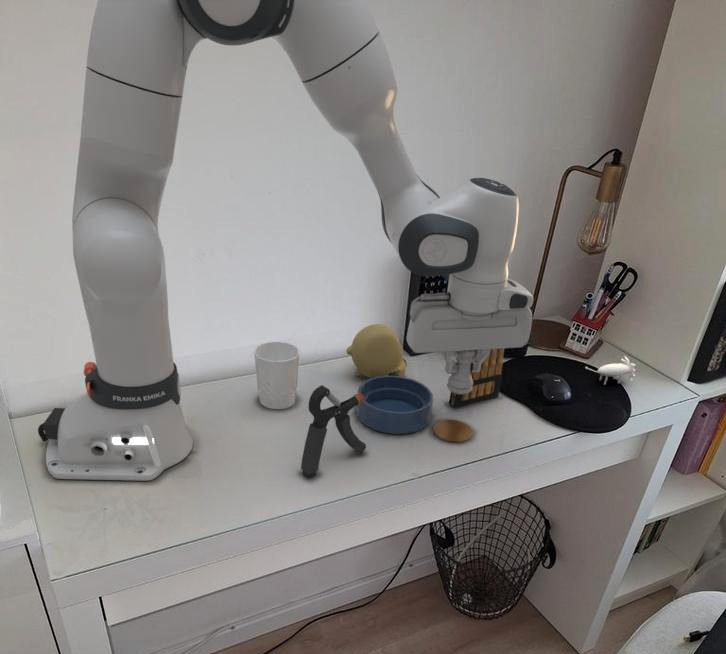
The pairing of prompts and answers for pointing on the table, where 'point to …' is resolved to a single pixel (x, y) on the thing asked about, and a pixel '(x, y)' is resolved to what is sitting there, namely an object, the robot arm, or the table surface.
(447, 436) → the coaster
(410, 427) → the bowl
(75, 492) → the table surface
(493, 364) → the ammunition clip
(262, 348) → the white cup
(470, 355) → the rook chess piece
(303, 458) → the hand grip strengthener
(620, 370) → the white animal figurine
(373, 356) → the khaki rounded piece
